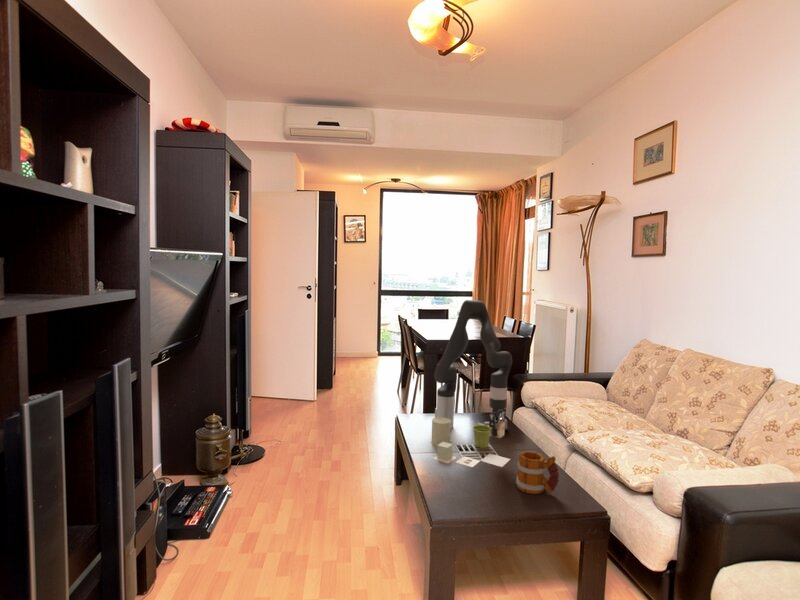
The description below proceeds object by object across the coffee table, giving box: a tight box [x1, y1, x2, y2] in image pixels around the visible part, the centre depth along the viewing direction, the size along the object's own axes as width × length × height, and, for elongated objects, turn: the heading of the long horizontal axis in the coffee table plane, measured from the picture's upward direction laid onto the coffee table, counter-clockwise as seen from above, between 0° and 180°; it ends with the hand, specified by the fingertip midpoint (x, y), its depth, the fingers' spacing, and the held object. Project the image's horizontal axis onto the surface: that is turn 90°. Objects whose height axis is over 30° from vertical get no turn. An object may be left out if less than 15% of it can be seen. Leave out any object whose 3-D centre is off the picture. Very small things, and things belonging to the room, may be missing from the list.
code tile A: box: [455, 456, 481, 468], centre depth 195 cm, size 8×8×1 cm
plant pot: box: [472, 424, 491, 449], centre depth 214 cm, size 9×9×9 cm
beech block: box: [489, 420, 506, 439], centre depth 197 cm, size 5×5×6 cm
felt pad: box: [480, 453, 511, 468], centre depth 198 cm, size 10×10×1 cm
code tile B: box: [432, 455, 457, 464], centre depth 198 cm, size 8×8×1 cm
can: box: [430, 417, 451, 447], centre depth 215 cm, size 9×9×12 cm
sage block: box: [436, 442, 454, 461], centre depth 198 cm, size 5×5×6 cm
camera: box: [476, 418, 508, 430], centre depth 237 cm, size 9×12×15 cm
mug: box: [515, 450, 560, 495], centre depth 172 cm, size 11×16×15 cm, turn 51°
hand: (496, 434), depth 197 cm, fingers closed on beech block, 5 cm apart
